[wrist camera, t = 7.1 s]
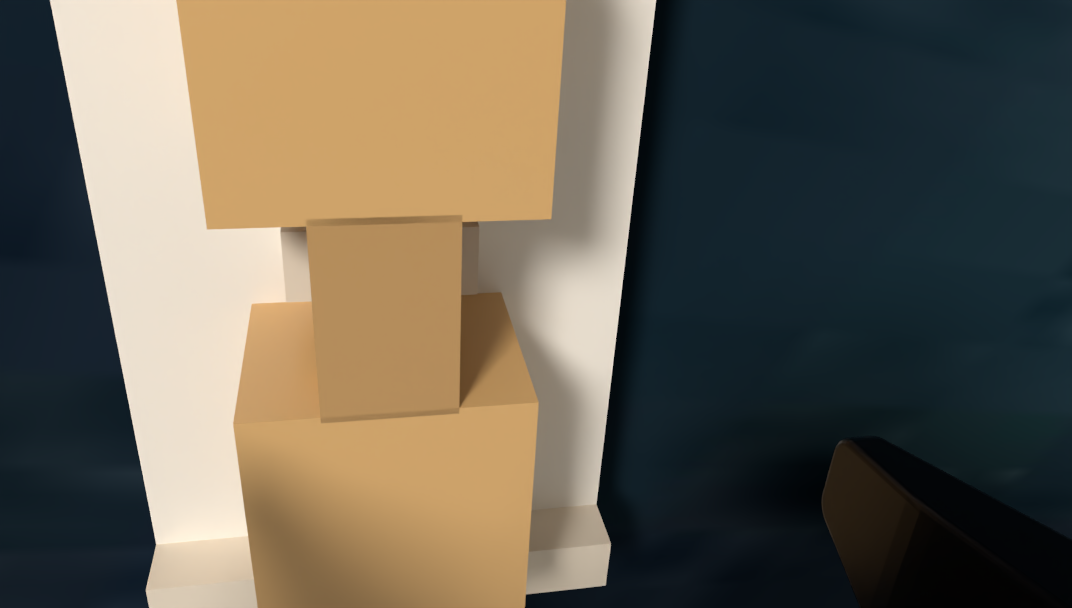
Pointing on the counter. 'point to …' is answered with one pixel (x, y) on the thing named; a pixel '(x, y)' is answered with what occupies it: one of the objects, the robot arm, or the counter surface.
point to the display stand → (283, 276)
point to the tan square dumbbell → (380, 285)
